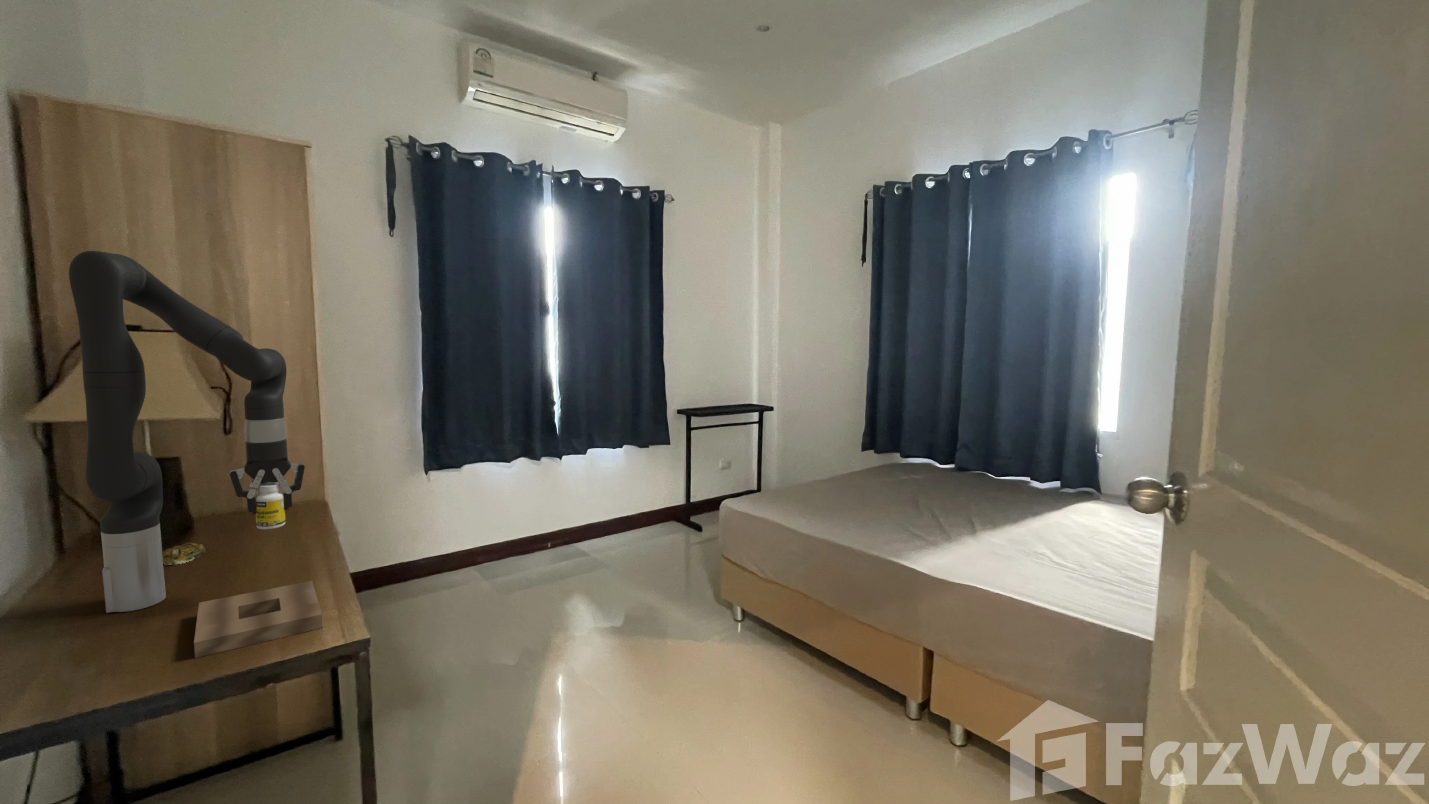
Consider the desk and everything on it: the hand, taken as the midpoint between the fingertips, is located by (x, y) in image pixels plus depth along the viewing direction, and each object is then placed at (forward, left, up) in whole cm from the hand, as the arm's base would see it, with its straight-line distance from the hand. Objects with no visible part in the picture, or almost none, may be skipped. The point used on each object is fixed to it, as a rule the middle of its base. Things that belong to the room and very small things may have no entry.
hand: (270, 511), depth 138 cm
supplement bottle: (0, 0, -4) cm, 4 cm away
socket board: (-3, -15, -19) cm, 25 cm away
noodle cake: (-18, +40, -20) cm, 48 cm away
